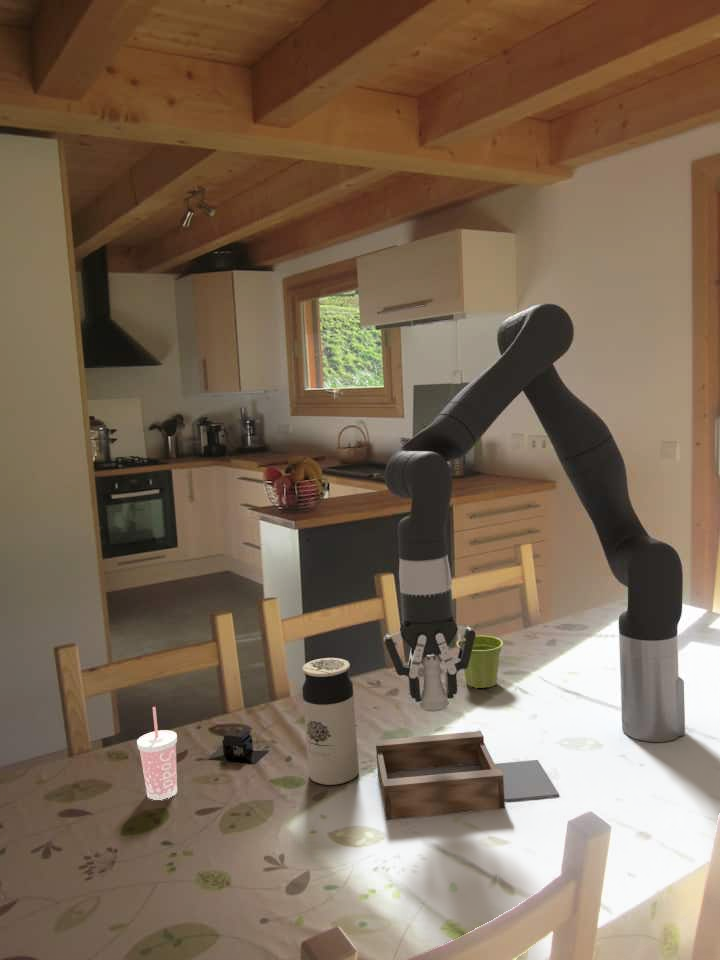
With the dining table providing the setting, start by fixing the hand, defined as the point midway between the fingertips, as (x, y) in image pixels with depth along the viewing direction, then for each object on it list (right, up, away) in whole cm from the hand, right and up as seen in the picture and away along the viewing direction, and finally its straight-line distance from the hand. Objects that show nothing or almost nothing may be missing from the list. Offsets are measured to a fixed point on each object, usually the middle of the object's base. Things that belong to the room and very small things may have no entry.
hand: (433, 697), depth 117 cm
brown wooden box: (+1, -14, +2) cm, 14 cm away
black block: (-32, -16, +18) cm, 40 cm away
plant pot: (+14, -9, +43) cm, 46 cm away
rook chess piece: (0, -2, 0) cm, 2 cm away
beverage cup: (-42, -17, +6) cm, 46 cm away
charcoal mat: (+14, -13, +2) cm, 19 cm away
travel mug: (-15, -15, +8) cm, 23 cm away
